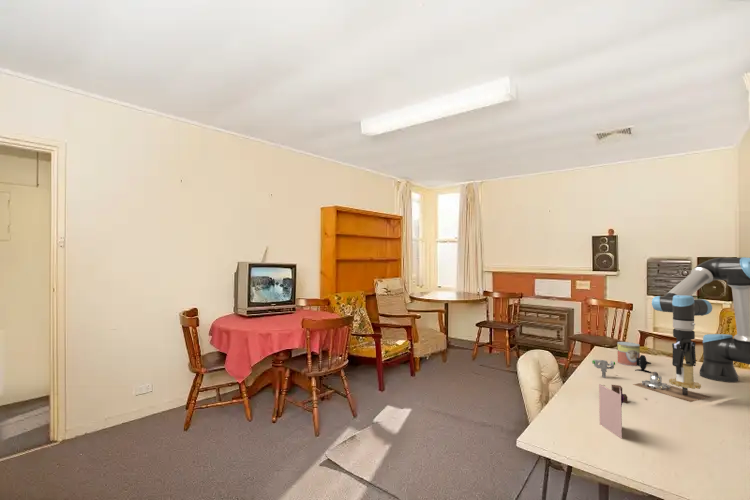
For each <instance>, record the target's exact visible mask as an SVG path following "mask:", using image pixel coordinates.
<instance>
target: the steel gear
mask: <svg viewBox="0 0 750 500" xmlns="http://www.w3.org/2000/svg"><path fill="white" fill-rule="evenodd" d="M662 381H663V379H662V376H661V375H659V374H658V376H653V374H650V375H649V380H647V379H644V380H641V383H642V385H645V387H650V388H651V389H658V390H668V389H669V390H670V389H671V387H670V386H671V384H668V383H666V382H662Z"/></svg>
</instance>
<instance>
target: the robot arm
mask: <svg viewBox="0 0 750 500" xmlns="http://www.w3.org/2000/svg"><path fill="white" fill-rule="evenodd" d="M713 281H726V285H727V286H729V287H730V288H731V292H732V293H731V294H732V302H733V311H734V317H735V318H734V319H735V327H736V334H735V335H732V334H727V333H725V334H724V333H723V334H722V333H721V334H720V333H709V334H704V335H703V336H702V354H703V355H702V356H703V360H702V361H703V362H702V364H701V367H700V369H699V376H701V377H703V378H706V379H708V380H714V381H719V382H728V383H737V382H739V375H738V373H737V371H736V368H735V366H734V362H735V363H741V364H746V365H750V257H742V256H741V257H715V258H712V259H709V260H706V261H703V262H702V263H699V264H697V265H696V266H695V267H694V268H692V269H691V270H690V273H689V274H687V276H686V277H685V278H683V279H682V280H681V281H680V282H679V283H677V284H676V285H675V286H674V287H673V288H672V289H670V290H669V291H668V292H666V293H665V294H664V295H662V296H661V295H657V296H654V297H653V298H652V299H651V306H652V308H653V310H655V311H658V312H662V313H665V312H666V313H672V328H673V329H672V336H673V338H675V339H676V341H675V343H671V346H672V366H673V367H675V378H676V381H679V382H683V383H684V368H683V363H684V361H685V364H690V365H693V367H696V364H697V359H696V357H697V356H696V344H697V343H696V342H695V341H693V340H695V338H696V335H695V333H696V332H695V331H694V330H695V326H696V323H695V317H696V316H700V317H703V316H708V315H709V314H711V313H712V310H713V305H712V303H711V302H710V301H709V300H707V299H703V298H697V299H696V298H694V296H693V295H694V294H695V293H696V292H697V291H699V290H700V289H701V288H702V287H704V285H706V284H710V283H711V282H713Z"/></svg>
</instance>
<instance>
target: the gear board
mask: <svg viewBox="0 0 750 500" xmlns="http://www.w3.org/2000/svg"><path fill="white" fill-rule="evenodd" d="M652 375H653V376H658V375H659V373H658V372H657V371H654V372H653V374H652ZM632 385H633V386H636V387H639V388H642V389H646V390H649V391H653V392H655V393H660V394H663V395H666V396H668V397H673V398H676V399H679V400H683V401H685V402H689V403H692V402H696V401H701V400H705V399H708V398H709V399H710V398H711V396H709V395H707V394H706V395H705V394H702V393H700V392H695V391H692V390H688V389H689V388H684V387H681V388H680V387H678V386H673V385H670V387H671V389H670V390H669V389H668V390H658V389H651V388H650V387H645V385H642V382H640V383H634V384H632Z"/></svg>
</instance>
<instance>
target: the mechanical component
mask: <svg viewBox="0 0 750 500" xmlns="http://www.w3.org/2000/svg"><path fill="white" fill-rule="evenodd" d="M591 362H592V364H593V366H594V367H595V368H597V369H600V371H601V374H602V375H601V377H602V378H604V379H606V377H607V374H606V373H607V372H608V371H607V370H614V369H615V366H616V362H615V361H613V360H611V361H610V363H608V361H607V360H605V359H593V360H592V361H591Z"/></svg>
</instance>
